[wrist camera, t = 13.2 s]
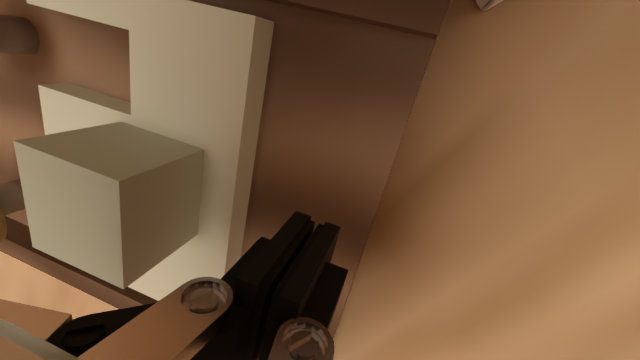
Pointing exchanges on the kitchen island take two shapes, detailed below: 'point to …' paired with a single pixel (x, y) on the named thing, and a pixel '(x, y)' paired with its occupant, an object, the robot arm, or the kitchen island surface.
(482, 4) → the tea box
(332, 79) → the board
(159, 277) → the panel
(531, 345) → the kitchen island surface
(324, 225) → the robot arm
